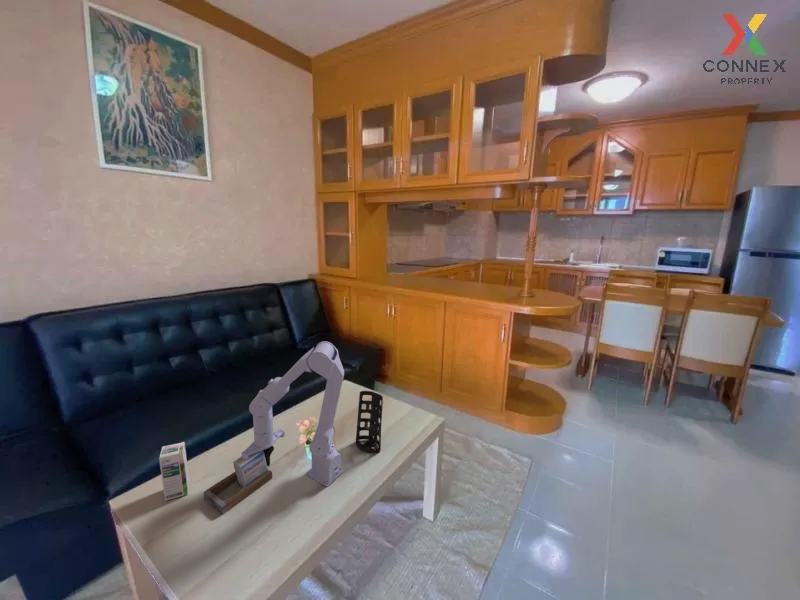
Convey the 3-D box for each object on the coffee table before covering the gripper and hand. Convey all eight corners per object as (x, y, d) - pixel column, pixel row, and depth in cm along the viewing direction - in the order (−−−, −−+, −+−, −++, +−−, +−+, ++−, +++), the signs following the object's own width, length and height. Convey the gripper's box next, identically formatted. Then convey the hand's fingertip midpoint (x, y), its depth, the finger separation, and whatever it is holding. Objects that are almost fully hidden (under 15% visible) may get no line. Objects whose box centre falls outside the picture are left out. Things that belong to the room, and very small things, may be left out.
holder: (349, 446, 121) (354, 395, 118) (359, 436, 128) (364, 387, 125) (376, 455, 117) (381, 403, 114) (385, 445, 124) (390, 395, 121)
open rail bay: (272, 478, 105) (272, 471, 105) (222, 514, 92) (222, 507, 91) (253, 466, 110) (253, 459, 109) (204, 499, 96) (203, 491, 96)
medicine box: (246, 490, 100) (240, 468, 97) (238, 483, 103) (232, 461, 100) (268, 472, 106) (264, 450, 103) (260, 466, 109) (255, 445, 106)
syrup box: (164, 501, 95) (158, 458, 92) (167, 487, 100) (161, 445, 97) (187, 495, 97) (182, 452, 94) (189, 481, 103) (184, 440, 99)
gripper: (274, 414, 113) (275, 448, 116) (234, 436, 101) (237, 473, 104) (288, 421, 110) (289, 456, 113) (248, 445, 97) (251, 483, 101)
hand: (265, 465), depth 108 cm, fingers closed, pressing on medicine box
